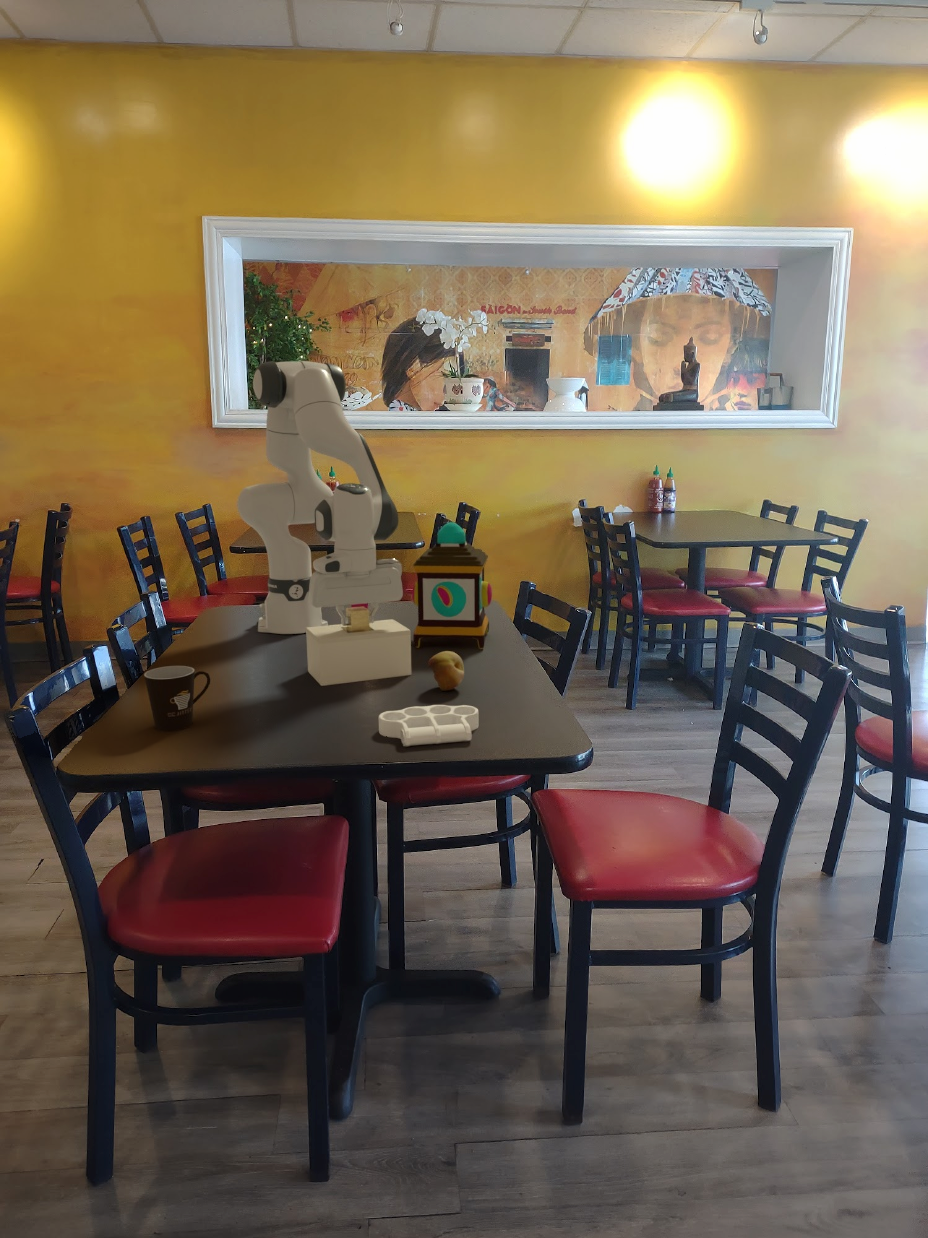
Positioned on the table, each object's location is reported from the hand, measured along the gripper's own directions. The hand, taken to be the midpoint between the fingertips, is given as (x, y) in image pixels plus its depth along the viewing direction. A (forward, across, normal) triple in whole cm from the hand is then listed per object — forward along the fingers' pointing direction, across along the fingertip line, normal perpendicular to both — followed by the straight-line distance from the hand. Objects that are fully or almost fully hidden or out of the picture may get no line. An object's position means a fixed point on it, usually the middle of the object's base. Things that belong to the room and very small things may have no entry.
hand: (357, 623), depth 186 cm
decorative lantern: (+11, -30, -19) cm, 37 cm away
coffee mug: (+11, +39, +19) cm, 45 cm away
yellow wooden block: (+3, 0, 0) cm, 3 cm away
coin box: (+11, 0, 0) cm, 11 cm away
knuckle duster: (+12, -1, +41) cm, 43 cm away
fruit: (+11, -13, +19) cm, 26 cm away
